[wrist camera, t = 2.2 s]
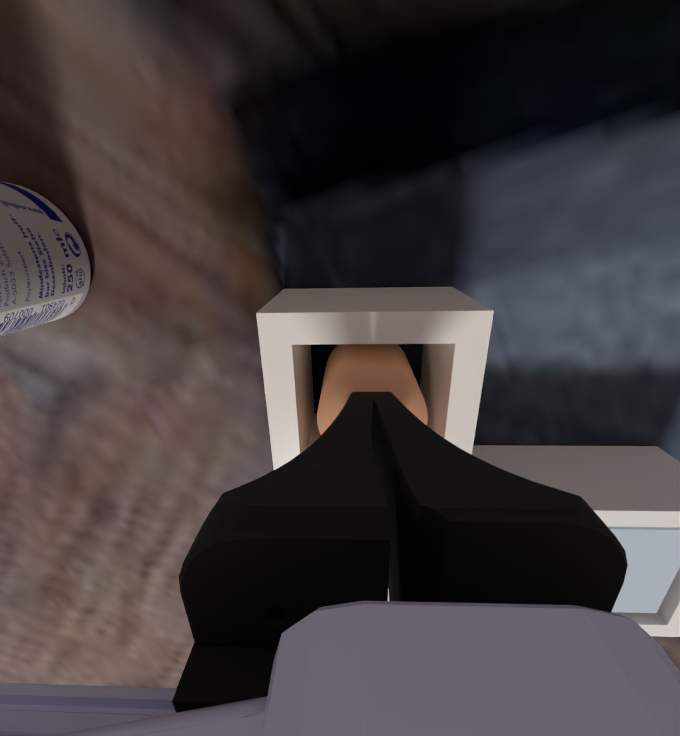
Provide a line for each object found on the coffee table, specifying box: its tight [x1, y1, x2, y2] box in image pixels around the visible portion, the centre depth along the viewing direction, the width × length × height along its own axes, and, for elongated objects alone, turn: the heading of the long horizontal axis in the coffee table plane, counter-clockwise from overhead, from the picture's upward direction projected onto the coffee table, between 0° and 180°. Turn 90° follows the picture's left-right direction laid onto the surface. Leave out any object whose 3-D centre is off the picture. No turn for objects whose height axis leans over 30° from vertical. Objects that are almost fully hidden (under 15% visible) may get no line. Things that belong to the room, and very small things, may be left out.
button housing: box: [256, 287, 494, 470], centre depth 13 cm, size 7×7×4 cm
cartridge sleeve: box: [472, 445, 680, 637], centre depth 16 cm, size 14×7×4 cm, turn 91°
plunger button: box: [317, 344, 428, 435], centre depth 13 cm, size 4×4×4 cm
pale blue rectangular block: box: [388, 527, 680, 613], centre depth 15 cm, size 13×5×7 cm, turn 91°
